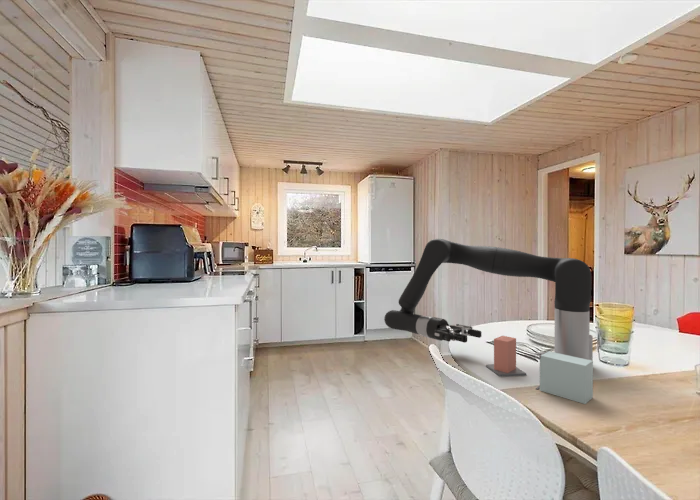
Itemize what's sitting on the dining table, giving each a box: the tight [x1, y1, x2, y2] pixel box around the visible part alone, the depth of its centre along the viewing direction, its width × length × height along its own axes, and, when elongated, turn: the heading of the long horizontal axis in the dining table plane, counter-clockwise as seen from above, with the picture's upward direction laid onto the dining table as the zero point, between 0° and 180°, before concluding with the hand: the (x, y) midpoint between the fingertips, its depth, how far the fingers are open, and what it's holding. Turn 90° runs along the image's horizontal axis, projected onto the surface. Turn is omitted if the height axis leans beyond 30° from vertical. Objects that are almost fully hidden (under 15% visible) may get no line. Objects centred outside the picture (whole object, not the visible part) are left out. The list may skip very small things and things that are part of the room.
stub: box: [493, 335, 517, 373], centre depth 100 cm, size 4×6×9 cm
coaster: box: [485, 363, 527, 377], centre depth 100 cm, size 8×8×1 cm
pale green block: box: [535, 350, 594, 405], centre depth 85 cm, size 11×6×9 cm, turn 40°
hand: (474, 336), depth 108 cm, fingers open, 8 cm apart
